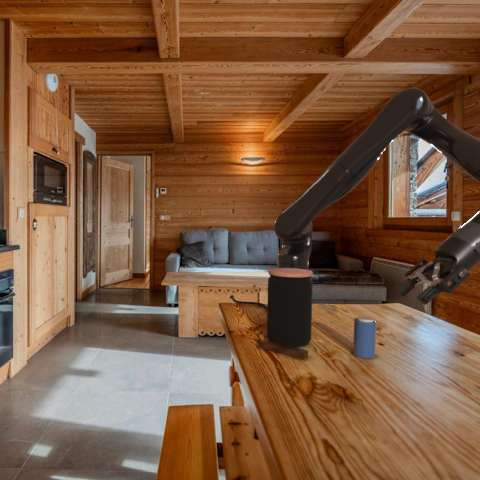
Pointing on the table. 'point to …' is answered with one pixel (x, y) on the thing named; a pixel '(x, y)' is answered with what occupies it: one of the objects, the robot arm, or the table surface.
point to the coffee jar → (289, 306)
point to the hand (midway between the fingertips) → (409, 297)
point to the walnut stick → (283, 349)
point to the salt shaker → (364, 337)
